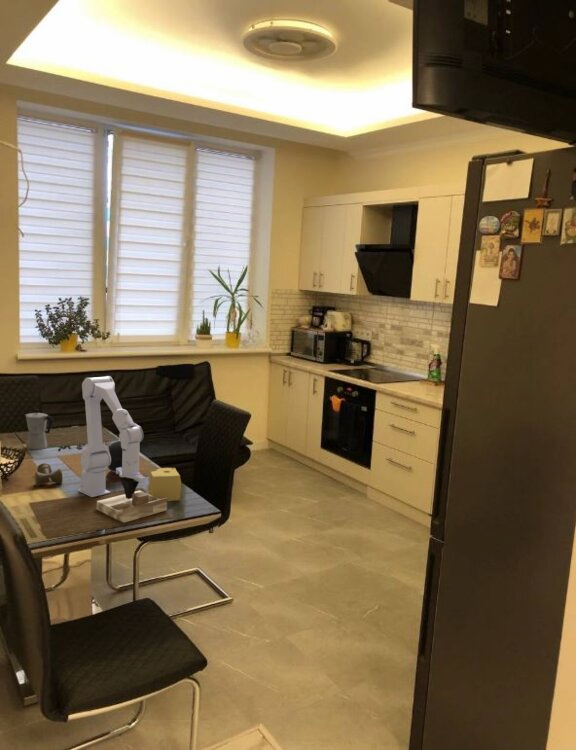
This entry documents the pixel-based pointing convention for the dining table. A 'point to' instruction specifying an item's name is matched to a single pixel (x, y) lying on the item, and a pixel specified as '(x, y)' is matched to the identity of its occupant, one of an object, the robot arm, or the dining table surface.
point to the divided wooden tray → (130, 507)
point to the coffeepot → (37, 430)
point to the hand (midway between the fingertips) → (129, 497)
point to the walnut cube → (139, 498)
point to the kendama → (47, 475)
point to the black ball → (115, 461)
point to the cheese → (165, 484)
